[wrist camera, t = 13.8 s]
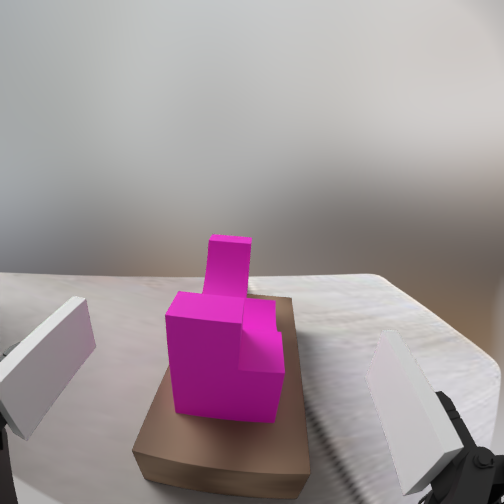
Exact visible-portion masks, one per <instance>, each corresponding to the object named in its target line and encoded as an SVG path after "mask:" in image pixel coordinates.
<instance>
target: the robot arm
mask: <svg viewBox="0 0 504 504" xmlns="http://www.w3.org/2000/svg"><path fill="white" fill-rule="evenodd" d="M95 348H96V344H95V340H94V336H93V331H92V326H91V322H90V317H89V312H88V306H87V301H86V298H81V297H77V296H73V297H72V298H70V299H69V300H68V301H67V302H66V303H65V304H63V305H62V306H61V307H60V308H59V309H57V310H56V311H55V312H54V313H53V314H52V315H51V316H49V317H48V318H47V319H46V320H45V321H44V322H43V323H42V324H40V325H39V326H38V327H37V328H36V329H35V330H34V331H33V332H32V333H30V334H29V335H28V336H27V337H26V338H25V339H24V340H23V341H22V342H19V343H17V344H15V345H13V346H11V347H10V348H8V349H7V350H6V351H5V352H4V353H3V355H1V356H0V504H18V501H17V497H16V492H15V487H14V482H13V477H12V471H11V464H10V457H9V449H8V440H7V432H6V429H5V428H4V427H5V425H6V424H8V425H9V427H10V428H11V430H12V431H13V433H15V434H16V435H18V436H20V437H21V438H23V439H25V440H26V441H27V440H28V439H29V437H30V436H31V434H32V433H33V431H34V430H35V428H36V427H37V425H38V424H39V422H40V421H41V420H42V418H43V417H44V415H45V414H46V413H47V411H48V410H49V408H50V407H51V406H52V404H53V403H54V401H55V400H56V399H57V397H58V396H59V395H60V393H61V392H62V391H63V389H64V388H65V387H66V385H67V384H68V383H69V381H70V380H71V379H72V377H73V376H74V375H75V373H76V372H77V371H78V369H79V368H80V367H81V366H82V364H83V363H84V362H85V360H86V359H87V358H88V357H89V355H90V354H91V353H92V352H93V350H94V349H95ZM365 379H366V382H367V385H368V387H369V390H370V393H371V396H372V398H373V401H374V404H375V407H376V410H377V413H378V416H379V419H380V422H381V425H382V428H383V431H384V434H385V437H386V440H387V443H388V446H389V449H390V452H391V456H392V459H393V462H394V465H395V469H396V472H397V476H398V479H399V482H400V486H401V489H402V493H403V496H405V495H409V494H413V493H416V492H420V491H422V490H423V489H424V488H425V487H426V486H428V485H429V484H431V487H432V490H431V491H430V492H429V493H428V494H426V495H425V496H424V497H423V498H422V499H421V500H420V501H419V502H418V504H421V503H422V502H423V501H425V502H424V504H504V502H503V503H502V502H501V497H502V496H503V495H504V455H496V456H495V455H494V454H493V453H492V452H491V451H490V450H489V449H487V448H485V447H480V446H479V447H477V446H476V444H475V442H474V440H473V438H472V437H471V435H470V433H469V431H468V429H467V427H466V425H465V424H464V422H463V420H462V418H460V415H459V413H458V411H456V408H455V406H454V404H453V402H452V401H451V399H450V398H449V397H448V396H446V395H445V394H444V393H443V392H442V391H439V392H435V391H434V390H433V388H432V386H431V384H430V383H429V381H428V379H427V378H426V376H425V374H424V372H423V371H422V369H421V367H420V366H419V364H418V362H417V361H416V359H415V357H414V356H413V354H412V353H411V351H410V349H409V348H408V346H407V345H406V343H405V341H404V340H403V338H402V337H401V335H400V333H399V332H398V330H382V333H381V336H380V339H379V342H378V344H377V347H376V350H375V353H374V356H373V358H372V361H371V364H370V366H369V369H368V372H367V374H366V377H365Z"/></svg>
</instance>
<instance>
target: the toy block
mask: <svg viewBox="0 0 504 504" xmlns="http://www.w3.org/2000/svg"><path fill="white" fill-rule="evenodd" d="M251 241H252V238H250V237H238V236H226V235H214V234H213V235H212V236H211V237H210V239H209V244H208V257H207V267H206V275H205V281H204V287H203V293H202V294H199V293H190V292H181V291H178V293H177V295H176V297H175V298H174V300H173V302H172V304H171V305H170V307H169V309H168V311H167V312H166V314H165V320H166V333H167V345H168V356H169V366H170V375H171V383H172V391H173V399H174V406H175V413H181V414H187V415H194V416H201V417H208V418H216V419H225V420H235V421H247V422H262V423H274V422H275V418H276V413H277V409H278V404H279V400H280V395H281V390H282V386H283V381H284V376H285V367H284V356H283V346H282V335H281V332H277V327H276V300H265V299H253V298H247V288H248V276H249V264H250V252H251Z"/></svg>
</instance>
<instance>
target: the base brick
mask: <svg viewBox="0 0 504 504" xmlns="http://www.w3.org/2000/svg"><path fill="white" fill-rule="evenodd" d="M202 293H203V292H202ZM247 298H253V299H265V300H276V327H277V332H281V335H282V346H283V356H284V367H285V376H284V381H283V386H282V390H281V395H280V400H279V404H278V409H277V413H276V418H275V422H274V423H262V422H247V421H235V420H225V419H216V418H208V417H201V416H194V415H187V414H181V413H175V406H174V399H173V391H172V383H171V375H170V366H168V368H167V370H166V373H165V375H164V377H163V379H162V382H161V384H160V386H159V388H158V391H157V393H156V395H155V397H154V400H153V402H152V404H151V406H150V409H149V411H148V413H147V416H146V418H145V420H144V423H143V425H142V427H141V430H140V432H139V434H138V437H137V439H136V441H135V444H134V446H133V449H132V452H133V454H134V457H135V459H136V461H137V464H138V466H139V468H140V470H141V472H142V475H143V477H144V479H147V480H151V481H155V482H159V483H163V484H167V485H171V486H176V487H181V488H186V489H191V490H196V491H202V492H209V493H216V494H223V495H232V496H242V497H255V498H278V499H297V497H298V495H299V494H300V492H301V490H302V488H303V487H304V485H305V483H306V481H307V479H308V478H309V476H310V474H311V473H310V461H309V449H308V438H307V427H306V417H305V407H304V398H303V388H302V379H301V370H300V362H299V353H298V345H297V337H296V329H295V321H294V314H293V306H292V299H291V298H287V297H276V296H265V295H254V294H247Z"/></svg>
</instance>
